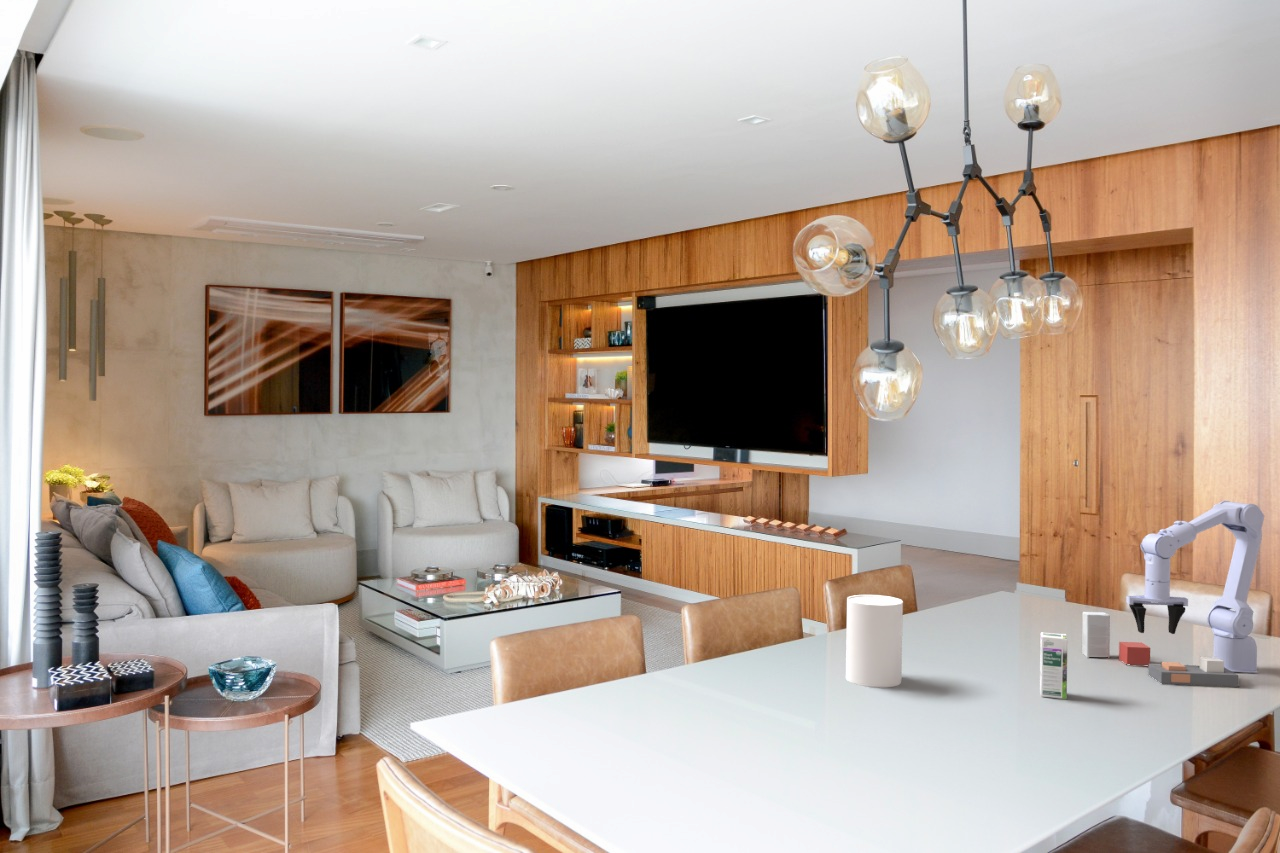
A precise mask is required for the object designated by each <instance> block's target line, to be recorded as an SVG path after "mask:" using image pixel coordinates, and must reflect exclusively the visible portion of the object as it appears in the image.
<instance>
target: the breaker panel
mask: <svg viewBox="0 0 1280 853" xmlns="http://www.w3.org/2000/svg"><path fill="white" fill-rule="evenodd" d="M1183 665H1184V666H1185V667H1186V671H1168V670H1166V669H1165V668H1163V667H1162V663H1150V664H1149V666H1147V667H1148V671H1147V672H1148V674H1147V675H1148V676H1149V675H1150V676H1151V677H1150V676H1149V677H1150V678H1152V677H1153V678H1154V679H1153V678H1152V679H1153V680H1155V679H1156V680H1157V681H1156V680H1155V681H1156V682H1158V681H1159V682H1160V683H1162V684H1161V685H1173V684H1179V685H1178V686H1198V687H1199V686H1201V687H1225V688H1239V674H1237V672H1232V671H1230V670H1228V669H1226V668H1225V667H1224V673H1216V672H1205V671H1203V670H1202V669H1200V665H1196V664H1195V665H1193V664H1192V665H1189V664H1183ZM1159 682H1158V683H1159ZM1160 683H1159V684H1160Z"/></svg>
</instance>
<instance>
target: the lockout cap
mask: <svg viewBox="0 0 1280 853" xmlns="http://www.w3.org/2000/svg"><path fill="white" fill-rule="evenodd" d="M1119 659H1120V660H1121V661H1123V662H1124V663H1126V664H1130V665H1148V666H1147V667H1149V664H1151V647H1150V646H1148V645H1146V644H1145V643H1143V642H1136V641H1135V642H1133V641H1119V643H1118V660H1119ZM1120 660H1119V661H1120ZM1121 661H1120V662H1121ZM1123 662H1122V663H1123ZM1124 663H1123V664H1124Z"/></svg>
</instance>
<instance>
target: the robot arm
mask: <svg viewBox="0 0 1280 853" xmlns="http://www.w3.org/2000/svg"><path fill="white" fill-rule="evenodd" d="M1264 520H1265V514H1264V513H1263V511H1262V510H1261V508H1260V507H1259V506H1258V505H1257V504H1255V503H1243V502H1235V501H1229V500H1222V501H1220V502H1219V503H1216V504H1214V505H1213V506H1212V508H1210V509H1209V510H1207V511H1205V512H1203V513H1202V514H1200V515H1198V516H1196V517H1195V518H1193V519H1192V520H1190V521H1185V520H1176V521H1174V522H1173V524H1172V525H1170V526H1168V527H1167V528H1165V529H1164V528H1161V529H1160V530H1159V531H1158V532H1157V533H1149V534H1147V535H1146V536H1144V537H1143V538H1142V541H1141V543H1139V545H1140V550H1141V552H1142V553H1143V559H1144V562H1145V563H1144V564H1145V565H1144V566H1145V570H1144V571H1145V572H1144V595H1126V597H1125V599H1126V604H1128V607H1129V609H1130V610H1131V613H1132V614H1133V616H1134V619H1135V624H1136V627H1137V632H1139V633H1141V634H1144V633H1145V618H1146V613H1147V608H1146V607H1145V606H1144V605H1151V606H1152V605H1153V606H1166V607H1167V613H1168V626H1167V627H1168V633H1170V634H1171V635H1176V631H1177V627H1178V624H1179V622H1180V620H1181V618H1182V617H1183V615H1184V613H1185V612H1186V607H1188V606H1189V598H1186V597H1180V596H1171V594H1170V593H1171V590H1170V589H1171V558H1172V557H1173V556H1174V555H1175V554H1176V551H1177V550H1178V549H1180V548H1182V547H1184V546H1186V545H1188V544H1190V543H1191V542H1194V541H1195V540H1196V539H1197V534H1200V533H1201V532H1204V531H1207V530H1209V529H1211V528H1215V527H1216V526H1218V525H1220V524H1221V525H1222V526H1223V527H1225V528H1226V529H1227V530H1228V531H1230V532H1231V533H1232V535H1233V537H1234V538H1235V543H1234V548H1233V553H1232V556H1231V561H1230V564H1229V568H1228V573H1227V576H1226V580H1225V585H1224V589H1223V593H1222V596H1220V597H1219V598H1217V599H1215V600H1214V601H1213V603H1212V607H1211V608H1210V610H1209V611H1208V613H1207V616H1206V623H1207V625H1208V627H1209V628H1210V629H1211V633H1213V645H1212V646H1213V648H1212V649H1213V651H1212V652H1213V653H1212V657H1217V658H1219V659H1221V660H1223V661H1224V667H1225V668H1226V669H1228V670H1230V671H1232V672H1234V673H1249V674H1252V673H1253V674H1258V673H1259V671H1258V670H1257V667H1258V666H1257V664H1258V663H1257V662H1258V645H1257V641H1256V640H1255V638H1254V637H1253V636H1250V634H1251V633H1252V632H1253V629H1254V619H1253V616H1254V610H1253V609H1252V608H1251V605H1249V603H1248V602H1247V601H1248V597H1249V593H1250V588H1251V584H1252V580H1253V575H1254V571H1255V568H1256V564H1257V559H1258V556H1259V552H1260V547H1261V543H1262V537H1263V533H1262V528H1263V524H1264Z"/></svg>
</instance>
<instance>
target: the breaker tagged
mask: <svg viewBox="0 0 1280 853" xmlns="http://www.w3.org/2000/svg"><path fill="white" fill-rule="evenodd" d="M1161 664H1162V667H1163V668H1165V669H1166V670H1168V671H1186V667H1185V666H1184V665H1185V664H1182V663H1181V662H1174V661H1162V662H1161Z"/></svg>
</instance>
